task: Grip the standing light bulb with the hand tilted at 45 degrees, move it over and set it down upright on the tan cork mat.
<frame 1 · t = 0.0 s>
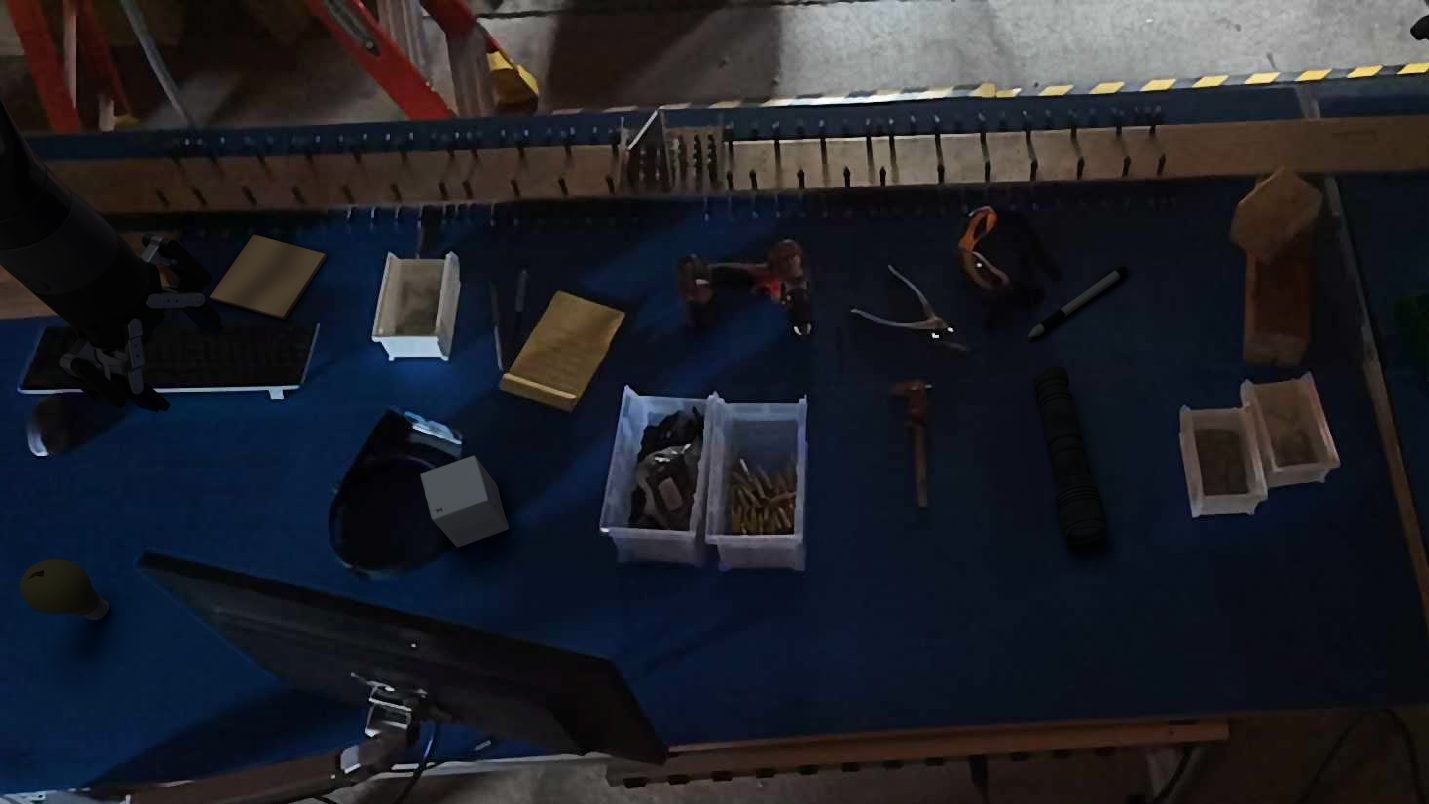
hand: (187, 367, 101), 27 cm above the workbench, tool pointing down, fingers open, 8 cm apart
light bulb: (103, 612, 121), on the workbench
flashlight: (1064, 465, 130), on the workbench
pen: (1076, 306, 139), on the workbench
mat: (270, 278, 139), on the workbench
product box: (478, 517, 126), on the workbench
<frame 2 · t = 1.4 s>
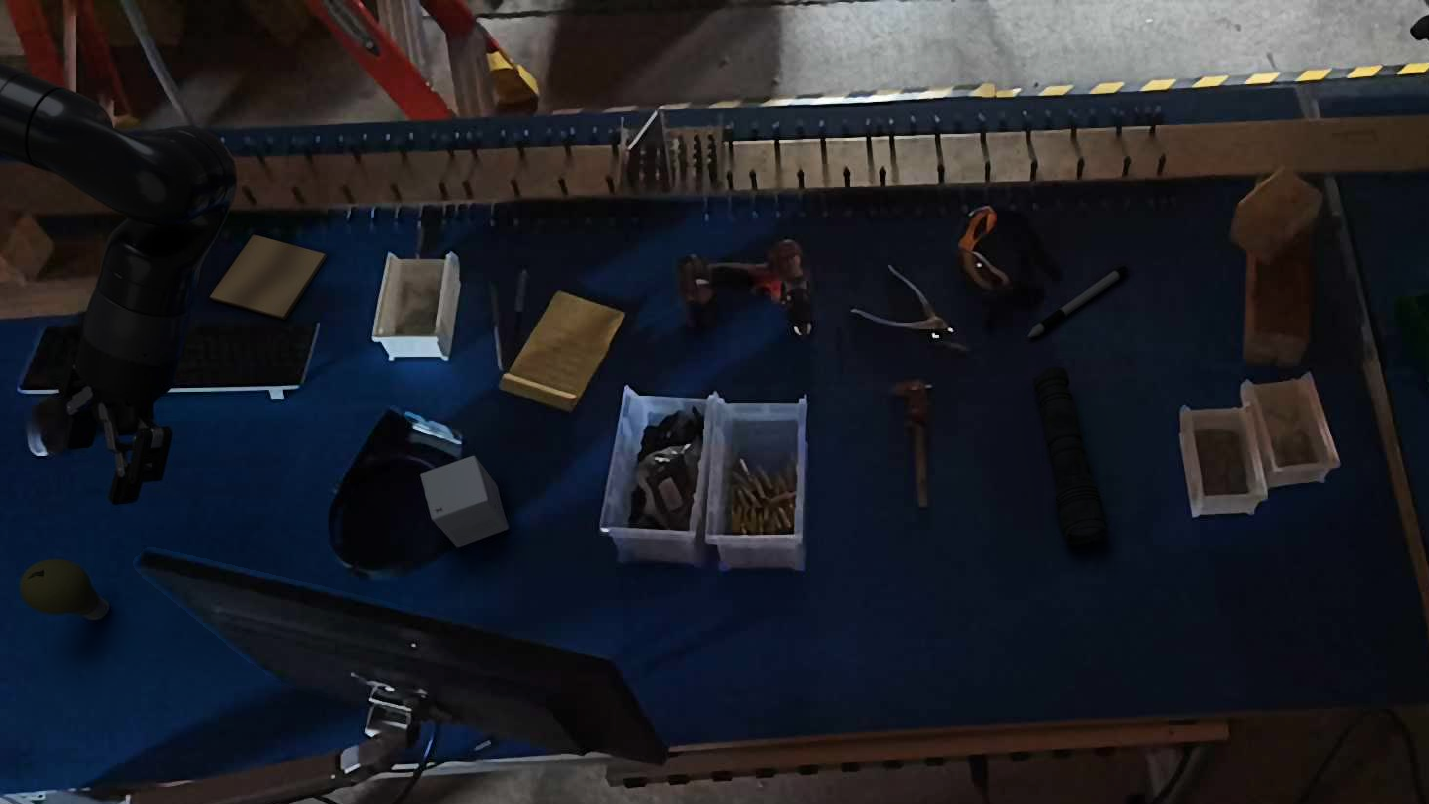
hand: (99, 474, 109), 16 cm above the workbench, tool tilted 45°, fingers open, 8 cm apart
nothing on the workbench moved.
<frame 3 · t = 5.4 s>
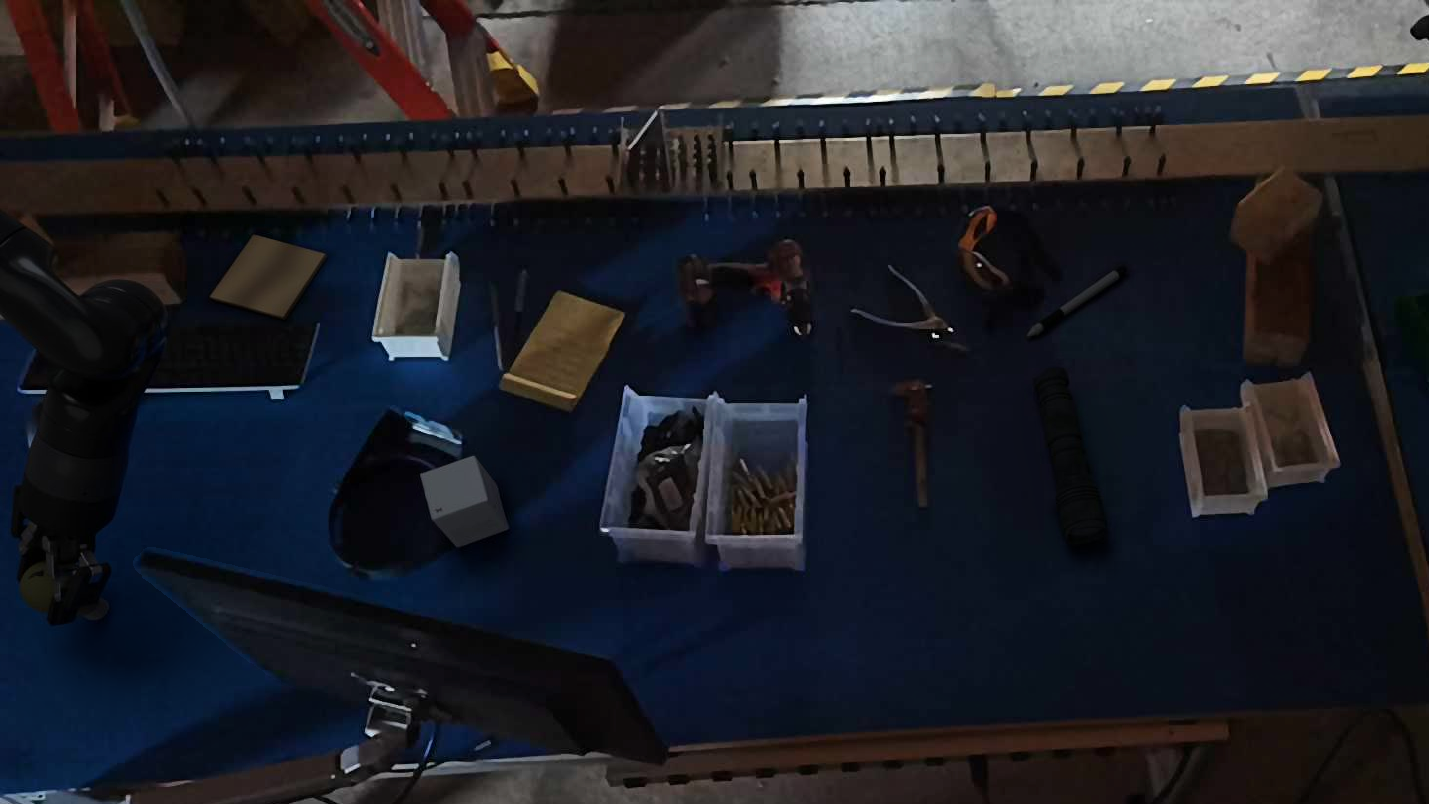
hand: (45, 601, 114), 6 cm above the workbench, tool tilted 45°, fingers closed on light bulb, 5 cm apart
light bulb: (103, 612, 121), on the workbench, touching gripper
everything else where it was.
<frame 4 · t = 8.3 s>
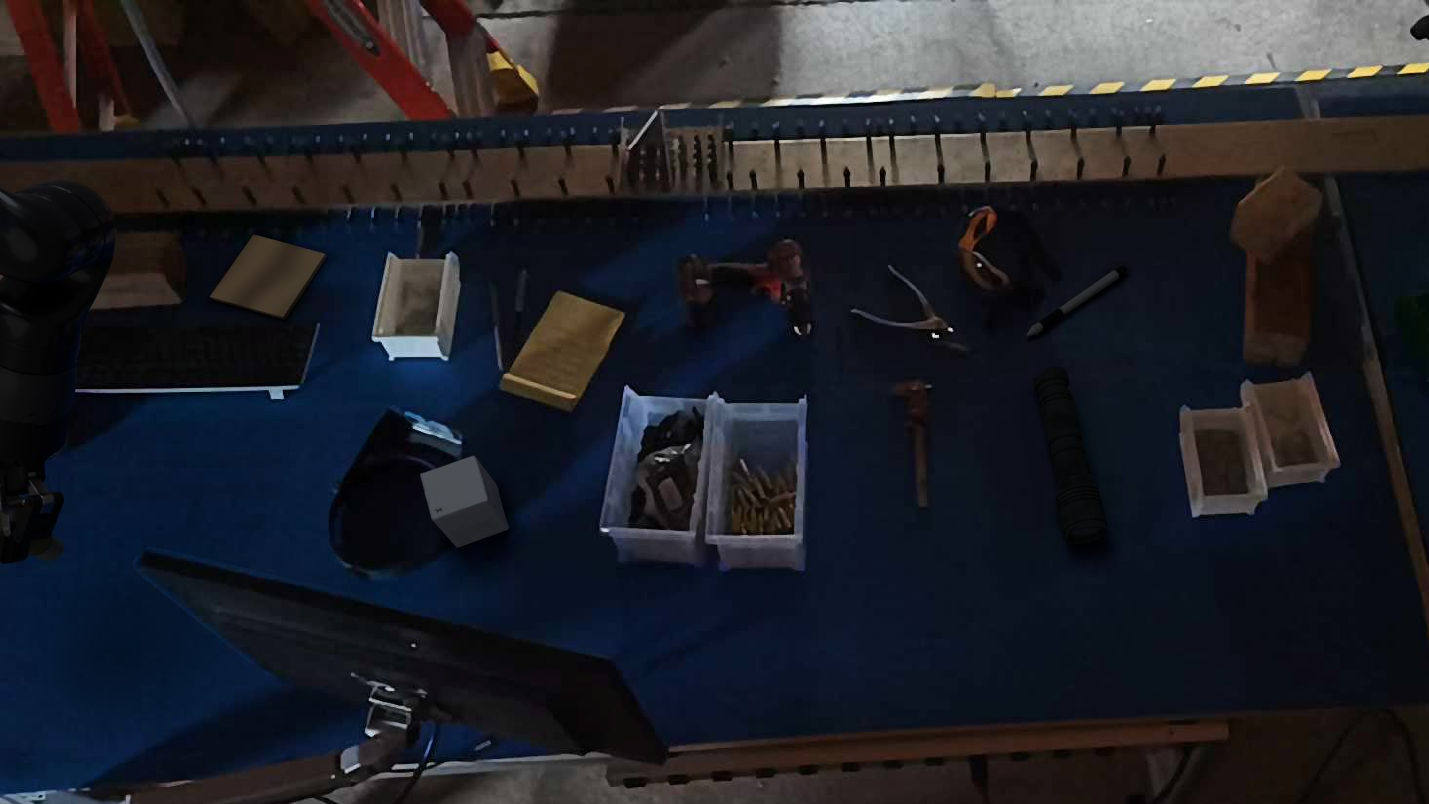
light bulb: (58, 553, 113), point 9 cm above the workbench, touching gripper
everything else where it was.
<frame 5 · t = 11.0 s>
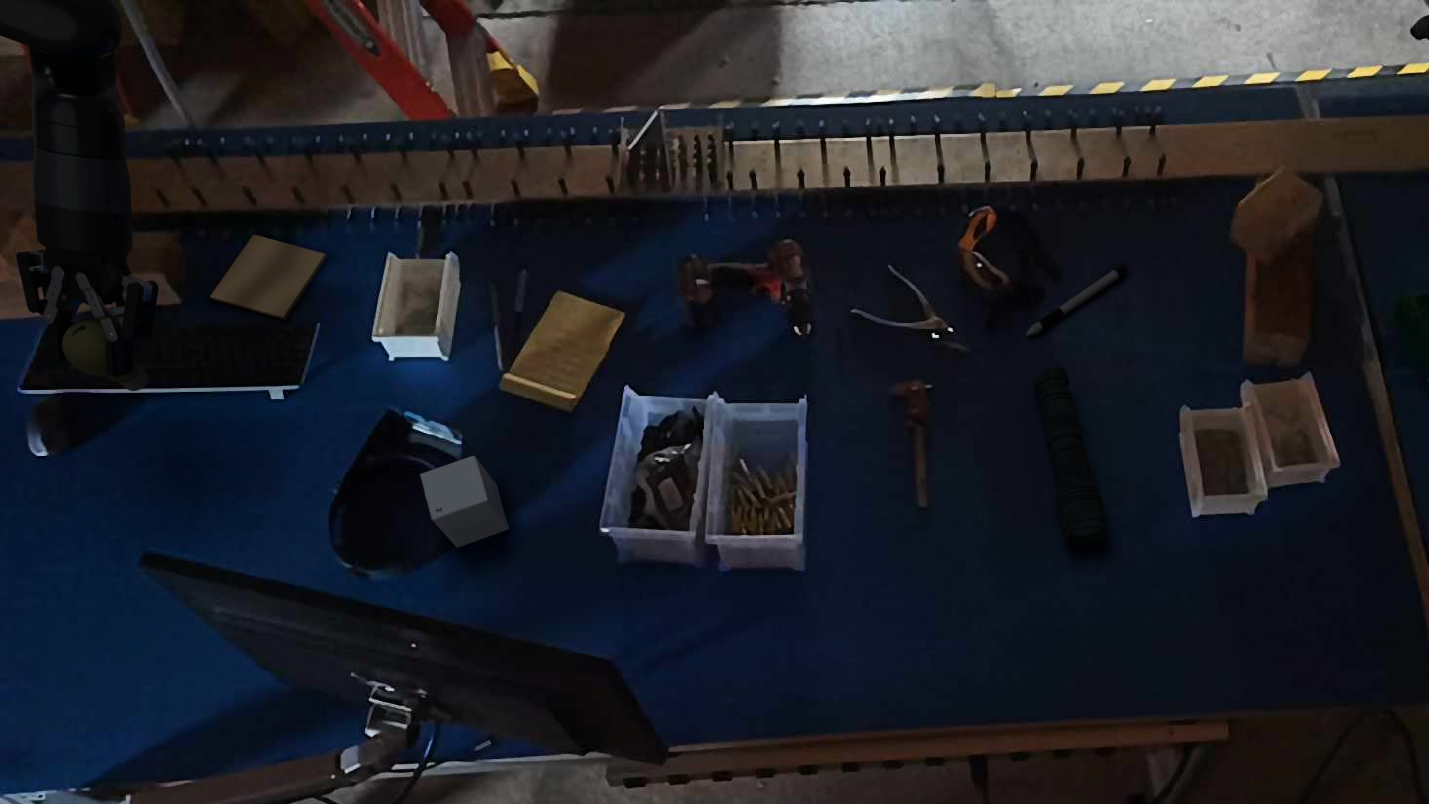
hand: (92, 366, 115), 16 cm above the workbench, tool tilted 45°, fingers closed on light bulb, 5 cm apart
light bulb: (142, 385, 121), point 10 cm above the workbench, touching gripper
everything else where it was.
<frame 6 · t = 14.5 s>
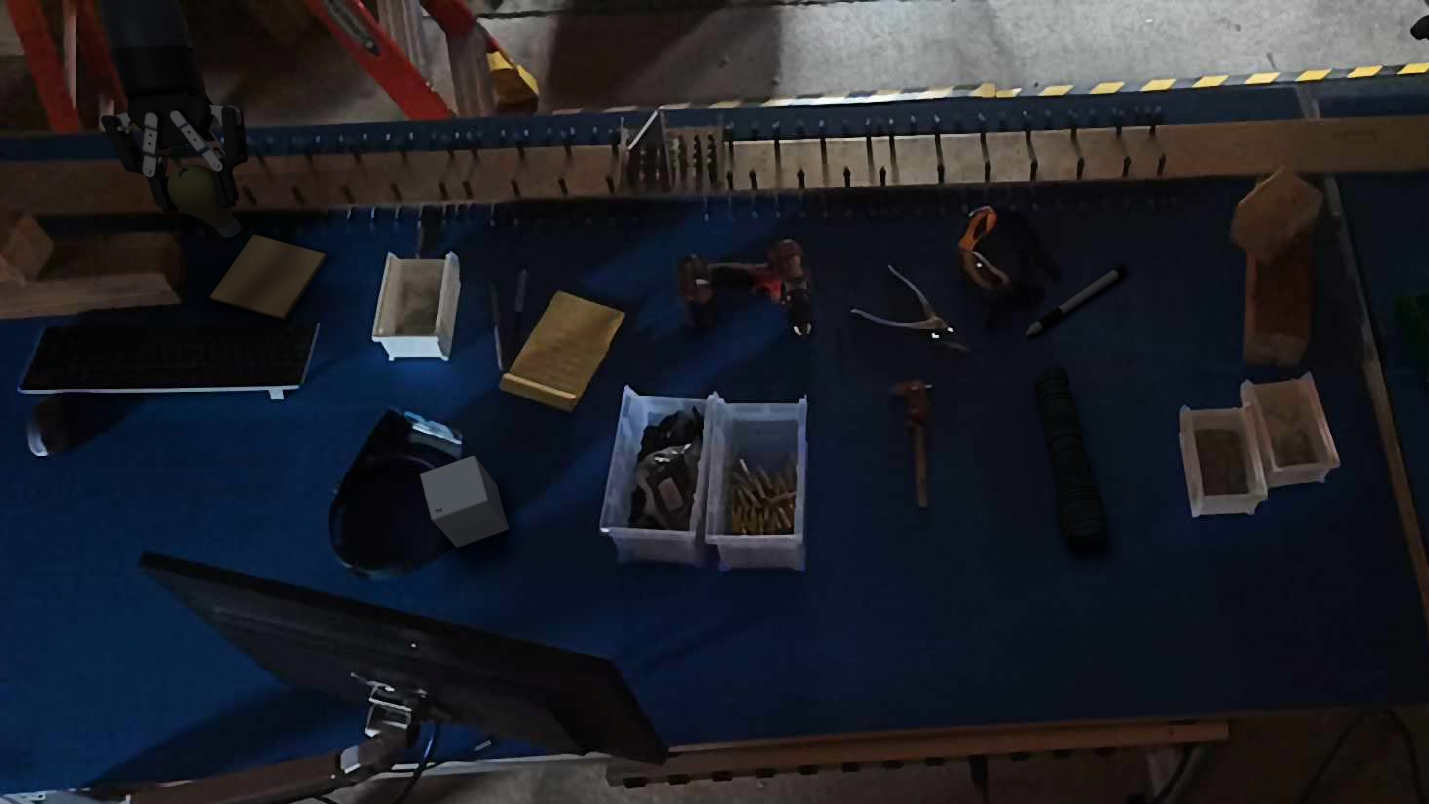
hand: (200, 208, 125), 15 cm above the workbench, tool tilted 45°, fingers closed on light bulb, 5 cm apart
light bulb: (234, 234, 132), point 8 cm above the workbench, touching gripper
everything else where it was.
when the fingers open (7 cm above the workbench, at t = 17.1 s): light bulb stays where it is, resting on mat.
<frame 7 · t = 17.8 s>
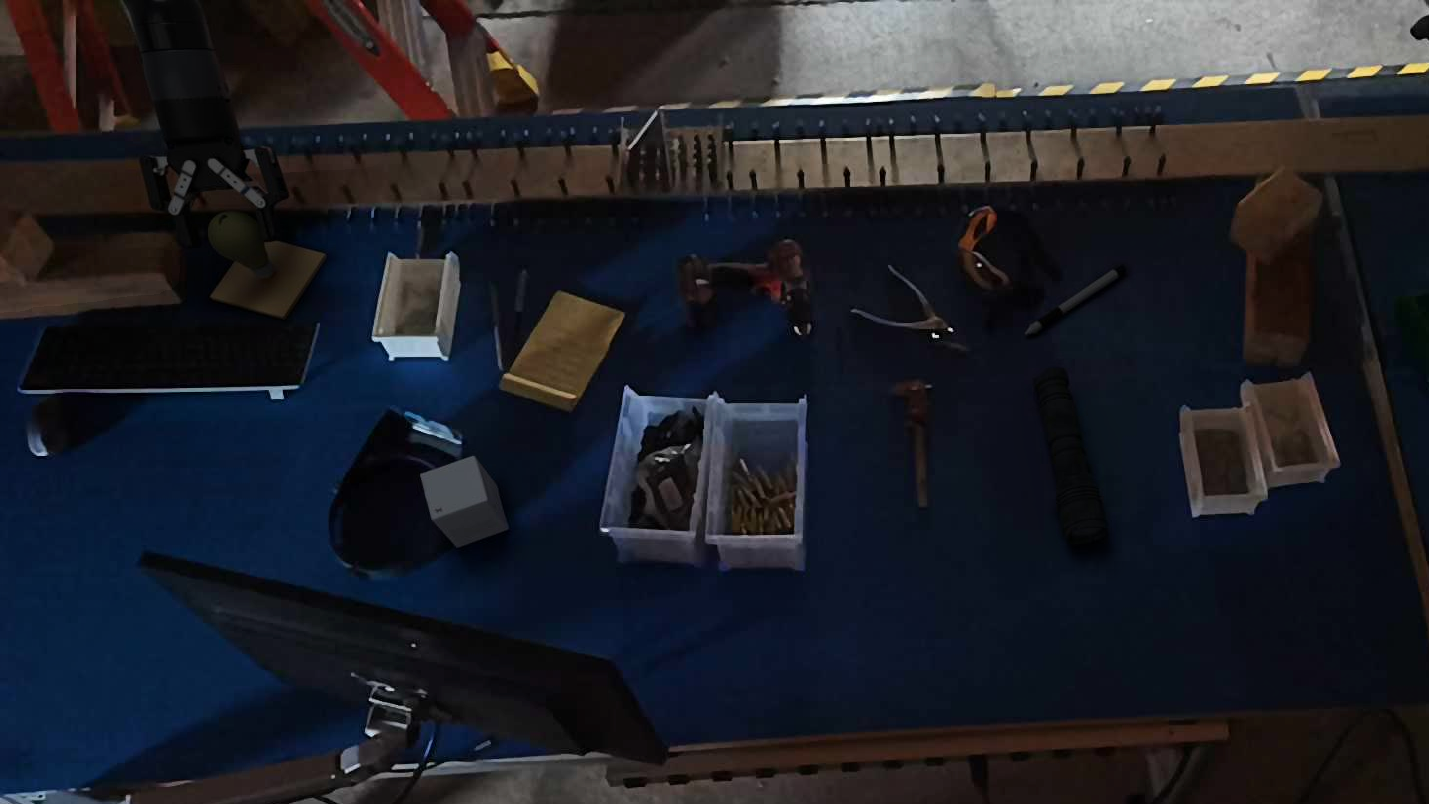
hand: (233, 244, 131), 8 cm above the workbench, tool tilted 45°, fingers open, 8 cm apart
light bulb: (268, 275, 139), resting on mat
everything else where it was.
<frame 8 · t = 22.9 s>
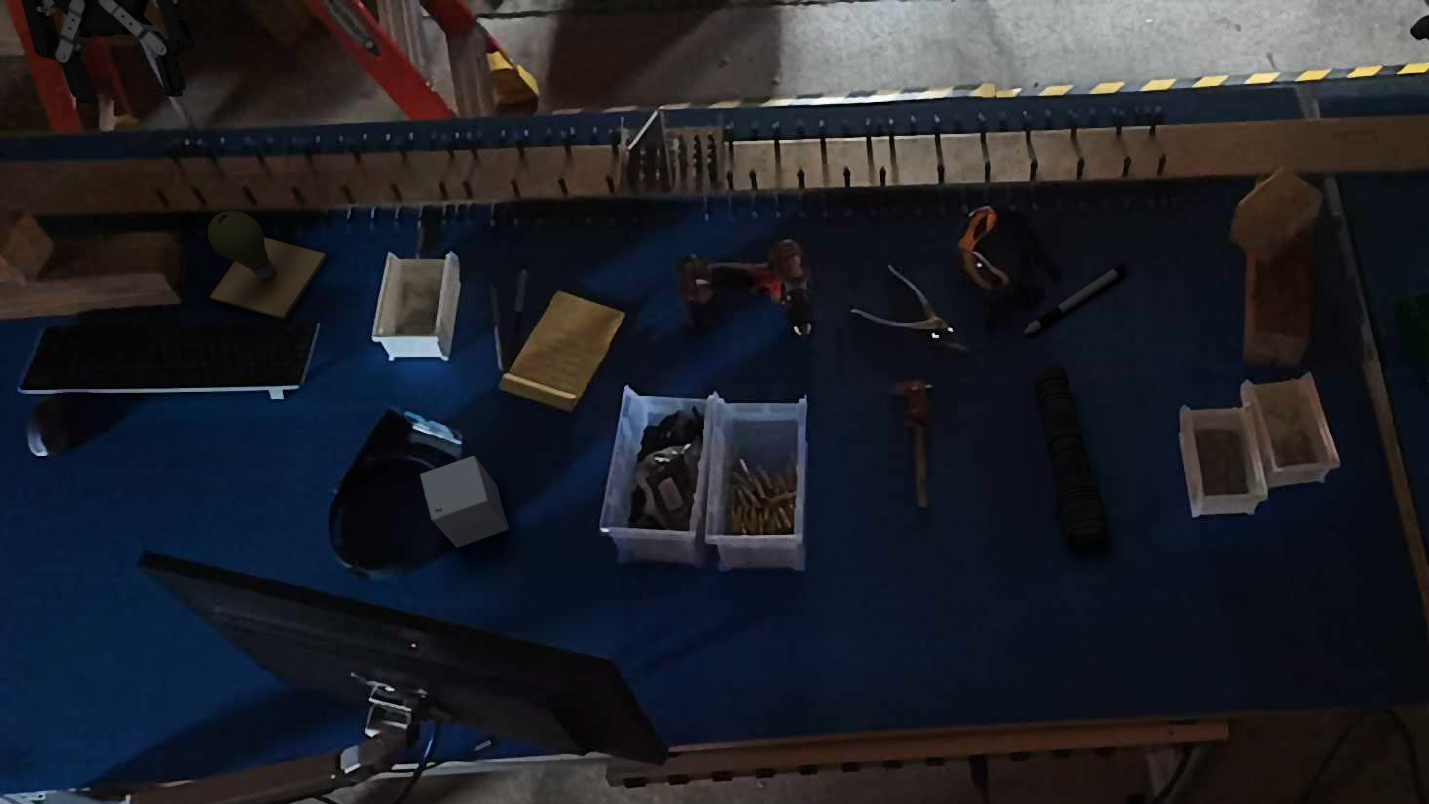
hand: (132, 99, 116), 27 cm above the workbench, tool tilted 45°, fingers open, 8 cm apart
nothing on the workbench moved.
at the end: light bulb inside the target area on the mat (0.1 cm from its centre), point 0.4 cm above the mat's base; light bulb tilted 0°; the gripper is holding nothing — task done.
